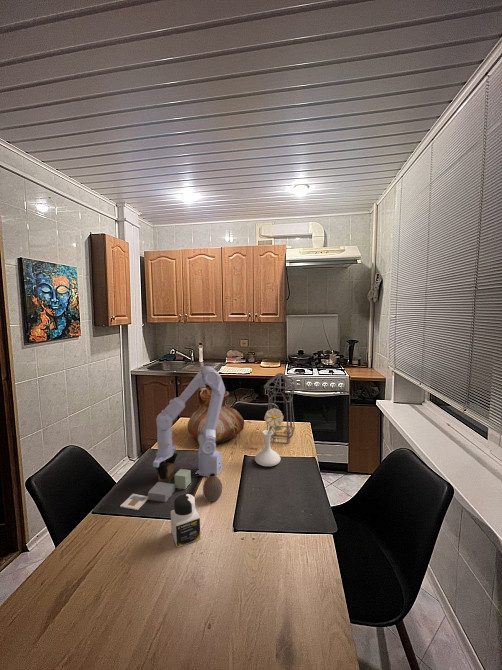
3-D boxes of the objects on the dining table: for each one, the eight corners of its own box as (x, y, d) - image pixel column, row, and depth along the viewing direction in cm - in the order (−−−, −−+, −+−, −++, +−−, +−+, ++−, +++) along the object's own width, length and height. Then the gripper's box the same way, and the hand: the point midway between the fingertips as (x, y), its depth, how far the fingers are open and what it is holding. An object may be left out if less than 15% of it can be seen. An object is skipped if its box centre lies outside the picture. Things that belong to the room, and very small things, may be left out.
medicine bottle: (176, 548, 86) (175, 509, 85) (171, 532, 92) (169, 495, 91) (200, 539, 89) (199, 501, 88) (193, 524, 96) (192, 488, 95)
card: (149, 497, 110) (149, 496, 110) (137, 510, 103) (137, 508, 103) (133, 494, 111) (132, 493, 111) (120, 506, 105) (120, 505, 105)
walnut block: (174, 476, 123) (173, 463, 123) (168, 482, 119) (168, 469, 118) (164, 474, 124) (163, 462, 124) (158, 480, 120) (157, 467, 120)
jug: (250, 427, 172) (249, 384, 170) (235, 452, 143) (234, 401, 140) (201, 423, 179) (199, 382, 176) (177, 446, 150) (175, 397, 147)
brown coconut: (225, 494, 111) (225, 472, 110) (216, 506, 104) (215, 482, 104) (209, 490, 114) (209, 468, 113) (199, 500, 107) (198, 477, 107)
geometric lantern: (264, 445, 150) (262, 375, 148) (269, 433, 165) (267, 370, 163) (295, 447, 147) (294, 376, 144) (298, 434, 162) (297, 370, 160)
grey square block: (175, 491, 114) (174, 483, 113) (165, 503, 107) (165, 495, 107) (158, 489, 115) (158, 481, 115) (148, 500, 109) (147, 492, 108)
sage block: (191, 483, 118) (190, 470, 118) (185, 490, 114) (185, 476, 113) (180, 482, 119) (180, 468, 119) (175, 488, 115) (174, 475, 114)
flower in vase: (251, 466, 130) (250, 410, 128) (260, 454, 141) (259, 402, 138) (280, 472, 125) (279, 413, 123) (287, 459, 136) (287, 405, 133)
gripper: (165, 434, 128) (167, 464, 130) (145, 450, 114) (147, 484, 116) (180, 436, 126) (181, 466, 128) (161, 452, 113) (163, 486, 114)
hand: (166, 475), depth 122 cm, fingers closed on walnut block, 4 cm apart
